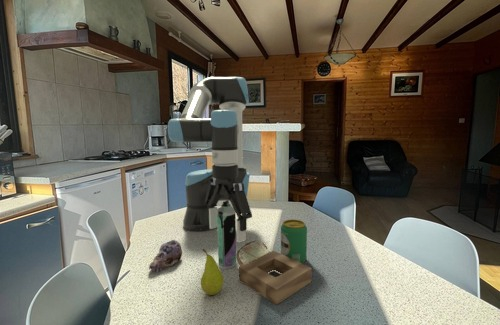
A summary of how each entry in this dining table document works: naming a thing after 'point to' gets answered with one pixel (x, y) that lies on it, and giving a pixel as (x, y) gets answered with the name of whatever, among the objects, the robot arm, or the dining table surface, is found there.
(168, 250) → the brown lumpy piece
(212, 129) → the robot arm
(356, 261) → the dining table surface
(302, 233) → the beverage can
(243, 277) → the hole block
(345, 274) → the dining table surface
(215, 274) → the fruit
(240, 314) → the dining table surface
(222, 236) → the spray can
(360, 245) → the dining table surface
